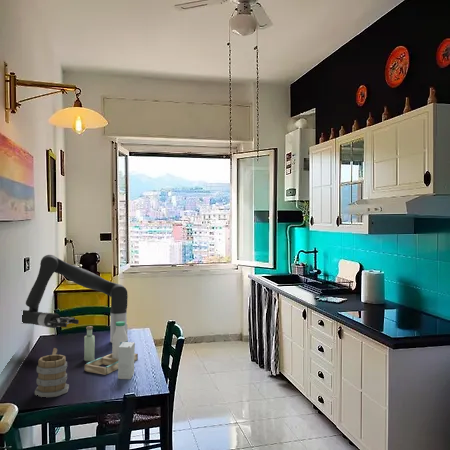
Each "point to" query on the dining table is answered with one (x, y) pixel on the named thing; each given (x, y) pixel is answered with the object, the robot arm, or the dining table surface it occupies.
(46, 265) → the robot arm
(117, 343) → the milk bottle
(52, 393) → the tankard
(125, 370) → the skincare box
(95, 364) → the frame
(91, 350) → the sage bottle
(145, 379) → the dining table surface
